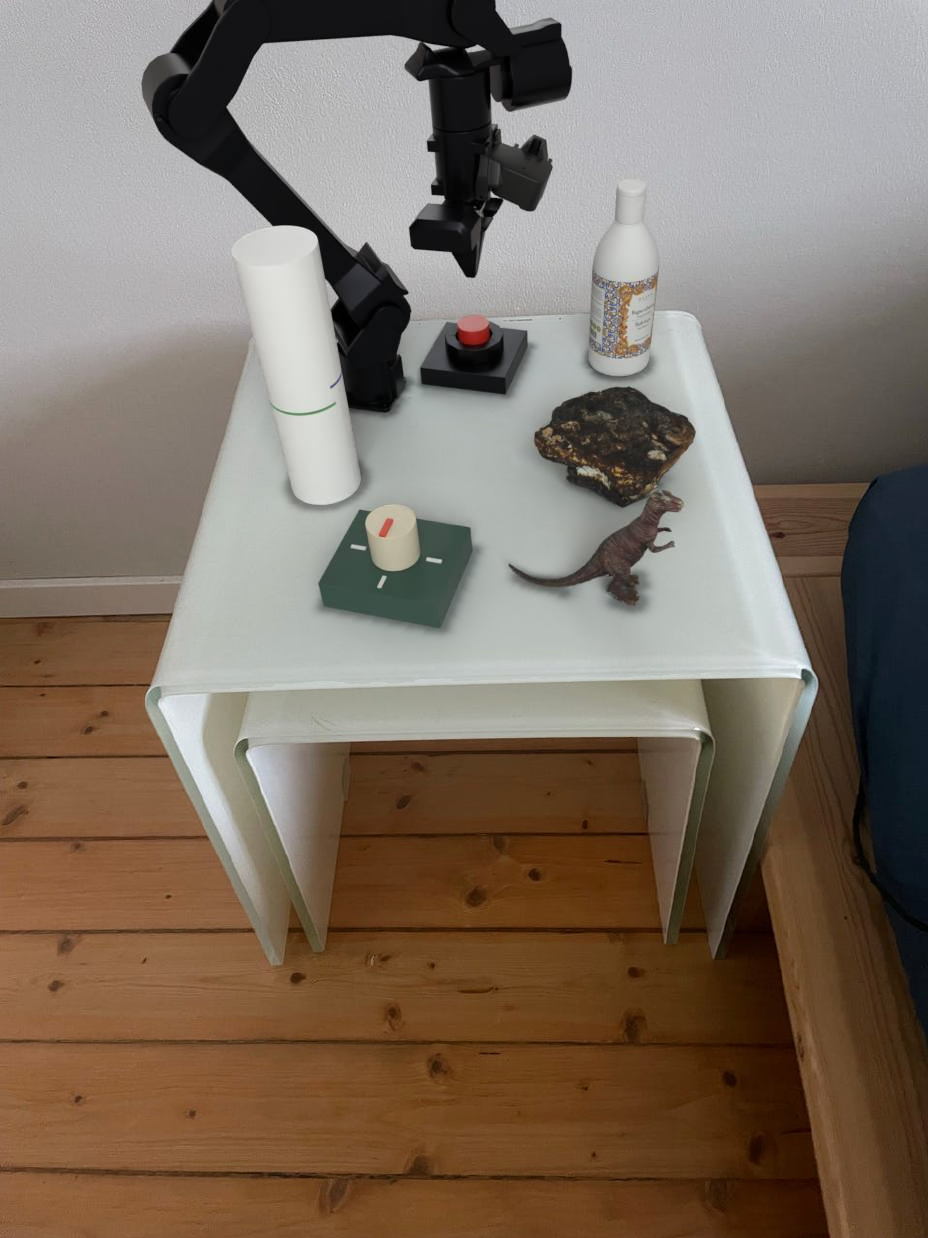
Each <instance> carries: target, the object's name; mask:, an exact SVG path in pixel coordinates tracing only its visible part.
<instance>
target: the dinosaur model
mask: <svg viewBox="0 0 928 1238" xmlns="http://www.w3.org/2000/svg"><path fill="white" fill-rule="evenodd" d="M684 506H685V502H684V501H683V500H682V498H681V497H680V498H679V497H677V496H675V495H673V493H672V492H671V491H669V490H666V489H659V490H655V491H653V492H651V493H650V495H649V496H648V497H647V500H646V503H645V504H644V507H643V509H642V512H641V514H640V515H639V516H637V517H635V519H633V520H632V521H630V522H629V524H627V525H625V526H623V527H622V528H619V529H618V530H615V531H614V532H613V533H611V534H609V535H608V536H607V537H606V538H604V540H602V542H601V543H600V544H599V545H598V547H597V549H595V552H594V553H593V554H591V557H590V558H589V559H588V560H587V561H586V562H585V564H583V565H582V566H581V567H580V568H578V569H577V570H576V571H574V572H573V573H570V574H569V575H566V576H562V577H559V578H558V577H557V578H540V577H536V576H532V575H530V574H528V573H526V572H524V571H523V570H521V569H519V568H517V567H515V565H513V564H511V562H509V563H508V564H507V566H508V568H509V569H511V571H512V572H513V573H515V575H517V576H518V577H520V578H522V579H523V580H524V581H526V582H527V583H529V584H533V585H536V586H540V587H542V586H543V587H547V588H563V587H571V586H576V585H580V584H583V583H584V584H585V583H586V582H590V581H592V580H595V579H597V578H600V577H601V578H602V577H605V576H606V577H607V578H609V577H613V578H612V579H611V581H610V583H609V584H608V585H607V586H606V588H605V593H609V594H611V595H612V596H613V597H614V598H615V599H616V600H618V601H620V602H622V603H623V604H624V605H630V606H636V605H638V604H637V603H638V601H640V599H641V596H639V595H637V594H638V593H639V591H638V590H636V589H635V588H637V585H640V581H639V580H638V579H639V578H640V577H639V575H637V574H631V569H632V568H633V567H634V566H635V565H636V564H637V563H638V562H639V561H641V559H642V558H643V557H644V555H645V553H646V552H647V550H649V552H651V553H652V554H657V553H660V552H663V551H665V550H667V549H673V548H676V545H675V541H674V540H669V541H668V542H667V543H665V544H664V545H659V546H657V545H655V541H656V539H657V537H658V534H659V533H662V532H666V533H672V532H673V531H672V529H671V528H670V527H666V526H663V527H659V525H660V524H661V518H663V515H665V514H666V513H667V512H669V513H680V512H681V511H682V509H683V508H684ZM623 586H624V587H626V588H628V589H625V588H624V589H623V588H621V587H623Z"/></svg>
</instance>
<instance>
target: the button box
mask: <svg viewBox="0 0 928 1238" xmlns="http://www.w3.org/2000/svg"><path fill="white" fill-rule="evenodd" d="M457 323H458V322H449V321H446V322H445V323H444V325H443V327H442V329H441V330H440V333H439V334H438V335H437V338H436V339H435V341H434V343H433V344H432V346H431V348H430V350H429V352H428V353H427V354H426V356H425V358H424V360H423V362H422V364H421V365H420V367H419V370H420V371H419V372H420V380H421V381H420V382H421V385H425V386H432V387H433V386H435V387H441V388H450V389H458V390H467V391H474V392H483V393H491V394H498V395H499V394H500V395H507V392H508V390H509V388H510V386H511V384H512V382H513V380H514V378H515V375H516V374H517V371H518V369H519V367H520V364H521V362H522V360H523V357H524V356H525V353H526V351H527V349H528V347H529V346H528V341H529V340H528V339H529V338H528V337H529V336H528V330H527V329H516V328H508V327H501V326H500V325H499V324H496V323H495V322H493V321H490V320H489V329H490V338H489V340H488V341H486V342H484V343H482V344H476V345H469V344H463V343H461V342H460V341H459V339H458V328H457Z"/></svg>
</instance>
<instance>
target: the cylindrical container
mask: <svg viewBox="0 0 928 1238" xmlns="http://www.w3.org/2000/svg"><path fill="white" fill-rule="evenodd" d="M230 250H231V252H230V253H231V256H232V260H233V264H234V268H235V272H236V276H237V280H238V284H239V289H240V291H241V296H242V299H243V303H244V307H245V312H246V315H247V320H248V323H249V327H250V330H251V335H252V339H253V342H254V347H255V350H256V354H257V358H258V363H259V366H260V369H261V373H262V377H263V382H264V386H265V390H266V393H267V397H268V402H269V405H270V409H271V413H272V416H273V420H274V424H275V428H276V432H277V437H278V440H279V444H280V448H281V452H282V456H283V459H284V463H285V468H286V471H287V475H288V479H289V483H290V486H291V487H290V488H291V490H292V493H293V495H294V496H295V497H296V499H298V500H299V501H301V502H303V503H306V504H308V505H309V504H310V505H313V506H326V505H327V506H328V505H332V504H333V505H334V504H336V503H339V502H342V501H344V500H346V499H348V498H350V497H351V496H352V495H353V494H354V493H356V491H358V488H359V487H360V484H361V482H362V476H361V469H360V464H359V458H358V454H357V453H358V452H357V447H356V442H355V436H354V432H353V426H352V420H351V415H350V408H349V407H348V403H347V398H346V392H345V387H344V381H343V376H342V371H341V365H340V359H339V354H338V348H337V339H336V337H335V331H334V326H333V320H332V315H331V305H330V299H329V293H328V287H327V283H326V282H327V281H326V279H325V276H324V271H323V265H322V260H321V254H320V249H319V243H318V239H317V236H316V235H315V234H314V233H313V232H312V231H310V230H308V229H305V228H302V227H298V226H269V227H264V228H260V229H256V230H254V231H251V232H248V233H247V234H245V235H242V236H241V237H240V238H239V239H237V240H236V241H235V242H234V244H233V245H232V246H231V249H230Z"/></svg>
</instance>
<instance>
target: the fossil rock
mask: <svg viewBox="0 0 928 1238" xmlns="http://www.w3.org/2000/svg"><path fill="white" fill-rule="evenodd" d="M696 433H697V431H696V429H695V426H694V425H693V423H692V422H691V421H690V420H689V418H688V416H686V415H684V414H681V413H678V412H675V411H671V410H670V409H668V408H667V407H665V406H663V405H661V404H658V403H656V402H653V401H652V400H650V399H649V398H648V397H647V396H646V395H645V394H644V393H643V392H642V391H640V390H639V389H637V388H635V387H632V386H612V387H609V388H605V389H602V390H601V391H588V392H586V393H583V394H581V395H579V396H575V397H572V398H569V399H567V400H564V401H562V403H561V404H560V405H559V406H556V407H555V408H554V409H553V410H552V412H551V420H550V421H549V423H548V424H546V425H544V426H542V427H539V430H537V431H535V432H534V437H533V442H534V446H535V448H537V450H538V453H539V455H540V456H541V457H542V458H543V459H545V460H547V461H549V462H551V463H556V464H561V465H564V466H565V467H566V466H567V467H566V472H567V475H566V481H567V482H568V483H569V484H572V485H576V486H578V487H580V488H584V489H586V490H588V491H591V492H592V493H594V494H596V495H598V496H600V497H602V498H603V499H605V500H606V502H607V501H608V502H609V503H611V504H614V505H616V506H618V507H620V508H621V509H622V508H626V507H628V506H630V505H632V504H635V503H636V502H639V501H642V500H645V499H648V498H649V496H650V495H651V494H652V493H653V492H652V491H654V489H657V488H658V485H659V482H661V480H662V478H663V477H664V475H665V474H666V473H668V472H669V471H670V469H671V468H672V467H673V466H674V465H675V464H676V463H677V462H678V460H679V459H680V458H681V457H682V455H684V453H685V452H686V451H688V449H689V448H690V446H691V445H692V444H693V443H694V440H695V437H696Z"/></svg>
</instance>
